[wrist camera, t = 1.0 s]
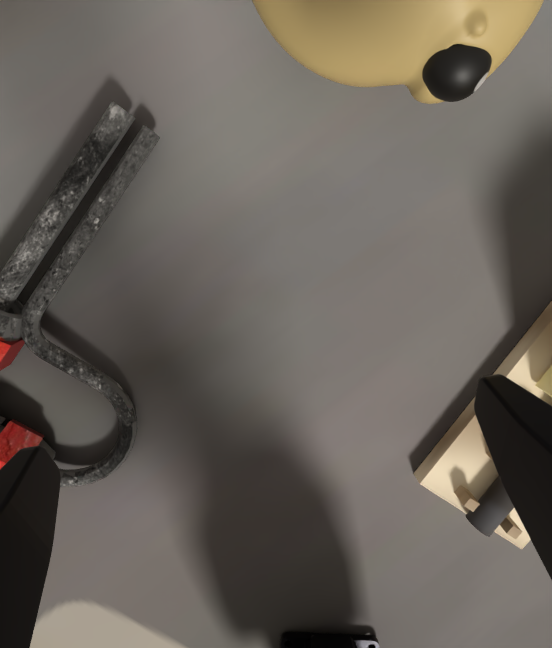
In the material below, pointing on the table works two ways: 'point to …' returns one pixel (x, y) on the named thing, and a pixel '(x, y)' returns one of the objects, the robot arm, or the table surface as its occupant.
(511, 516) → the comb board
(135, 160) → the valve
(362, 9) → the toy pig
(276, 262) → the table surface
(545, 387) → the yellow square block
